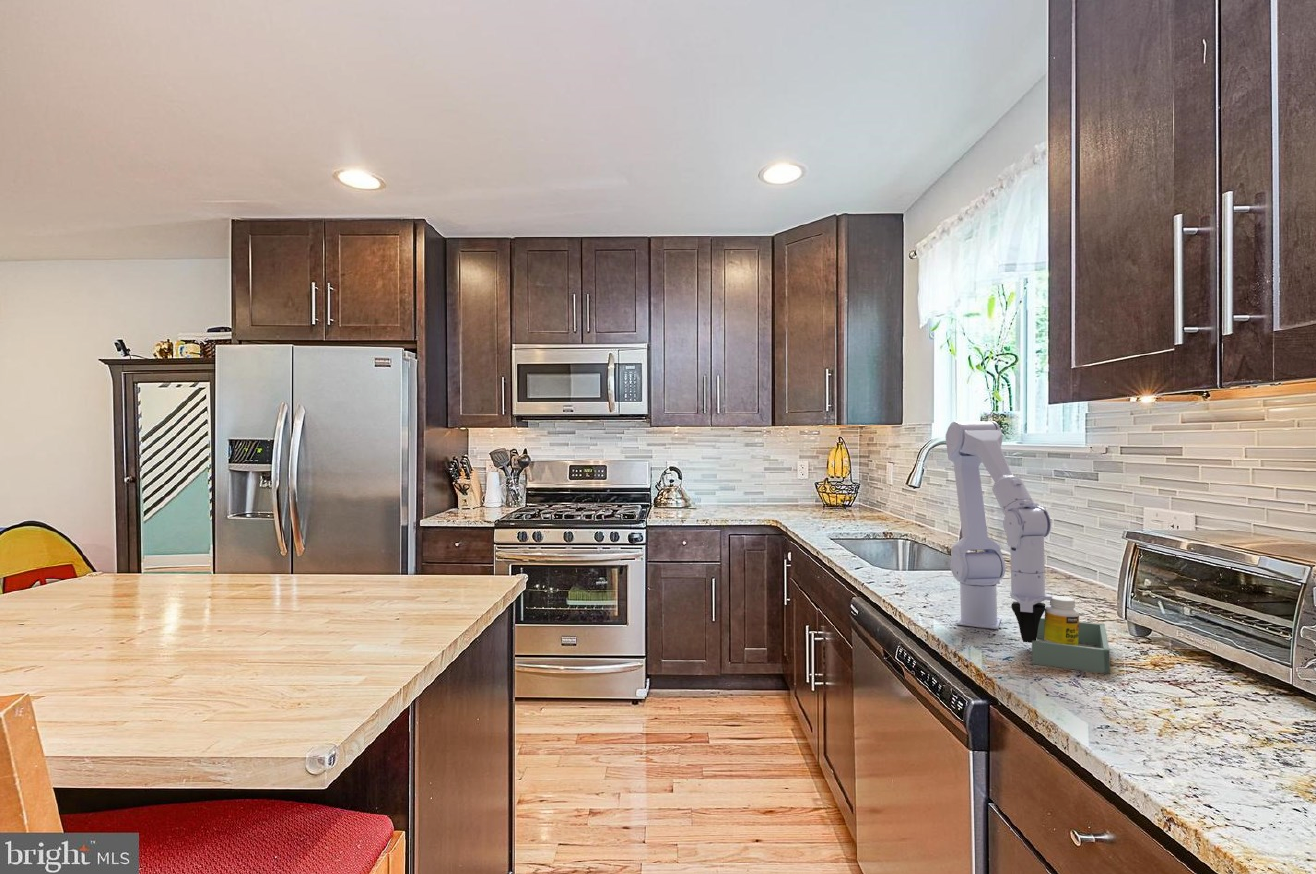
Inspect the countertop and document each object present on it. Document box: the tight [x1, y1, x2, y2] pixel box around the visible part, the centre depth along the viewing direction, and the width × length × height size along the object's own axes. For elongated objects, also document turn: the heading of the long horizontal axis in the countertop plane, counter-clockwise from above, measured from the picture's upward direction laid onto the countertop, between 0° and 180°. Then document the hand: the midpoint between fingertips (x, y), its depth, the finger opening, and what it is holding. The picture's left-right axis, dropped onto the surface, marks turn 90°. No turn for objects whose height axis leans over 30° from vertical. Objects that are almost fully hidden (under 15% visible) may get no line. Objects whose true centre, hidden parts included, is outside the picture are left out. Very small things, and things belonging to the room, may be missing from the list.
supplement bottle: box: [1043, 595, 1080, 646], centre depth 127 cm, size 6×6×10 cm
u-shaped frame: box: [1031, 617, 1111, 675], centre depth 127 cm, size 19×12×4 cm, turn 149°
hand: (1029, 641), depth 130 cm, fingers closed
